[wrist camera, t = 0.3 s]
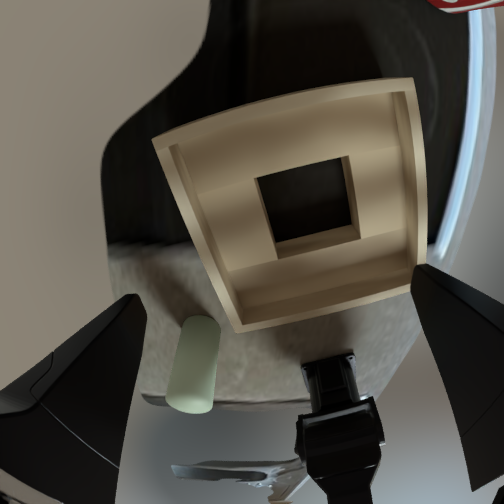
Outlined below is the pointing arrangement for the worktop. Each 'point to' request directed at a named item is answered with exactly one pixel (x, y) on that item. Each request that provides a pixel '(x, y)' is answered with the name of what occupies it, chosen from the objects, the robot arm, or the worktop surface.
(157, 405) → the worktop surface
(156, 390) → the worktop surface
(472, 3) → the soda can
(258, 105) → the open-top box
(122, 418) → the robot arm
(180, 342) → the peg
